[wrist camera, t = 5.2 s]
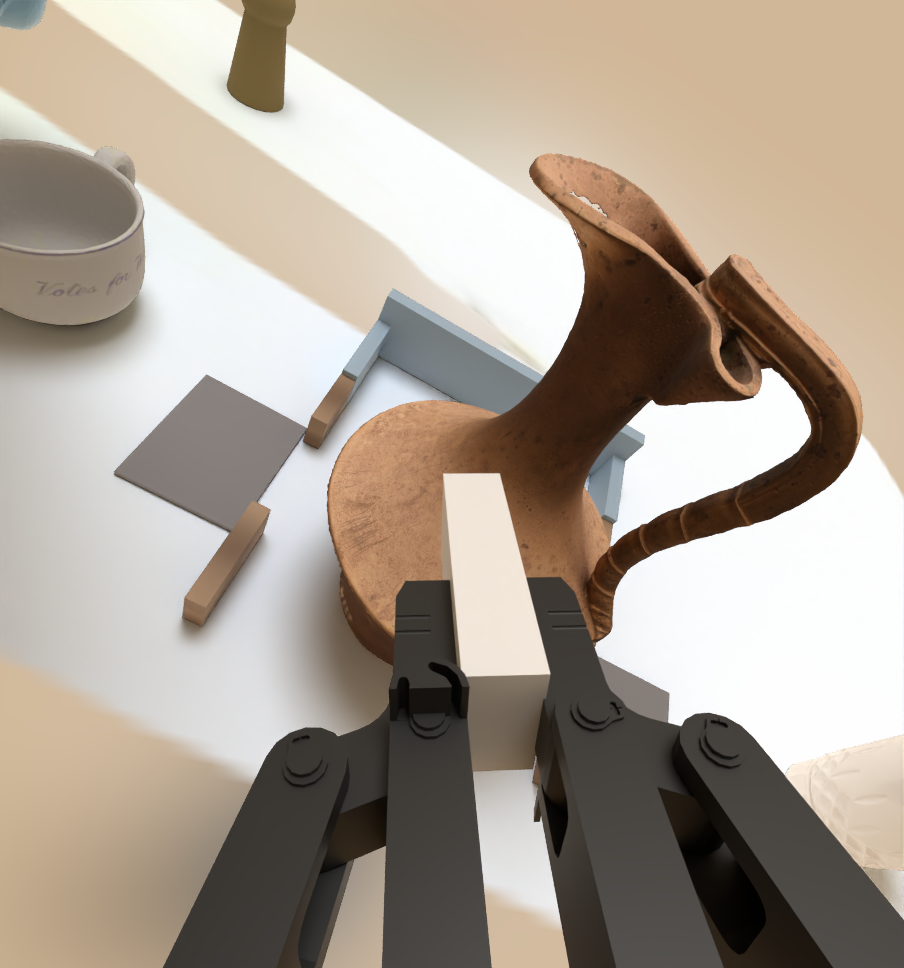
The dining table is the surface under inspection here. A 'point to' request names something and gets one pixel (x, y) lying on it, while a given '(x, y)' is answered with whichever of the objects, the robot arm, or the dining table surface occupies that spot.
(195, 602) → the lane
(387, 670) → the dining table surface
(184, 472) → the mat
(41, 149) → the teacup
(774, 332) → the pitcher
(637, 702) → the mat
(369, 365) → the pocket
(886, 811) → the beige tumbler
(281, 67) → the cork
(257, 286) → the dining table surface
